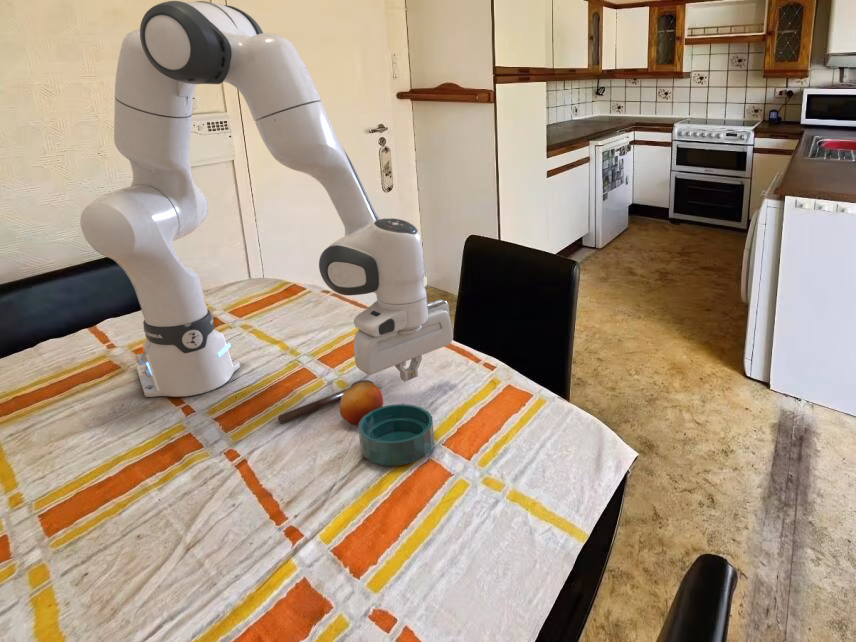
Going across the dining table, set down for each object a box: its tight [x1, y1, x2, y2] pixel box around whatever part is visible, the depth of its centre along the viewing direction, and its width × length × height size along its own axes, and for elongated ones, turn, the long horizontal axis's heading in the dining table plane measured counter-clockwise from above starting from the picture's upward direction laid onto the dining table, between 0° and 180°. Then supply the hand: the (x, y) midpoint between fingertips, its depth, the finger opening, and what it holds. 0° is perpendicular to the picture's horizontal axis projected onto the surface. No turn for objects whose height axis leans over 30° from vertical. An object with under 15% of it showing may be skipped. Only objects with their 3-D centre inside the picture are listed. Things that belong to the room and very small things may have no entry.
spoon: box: [277, 379, 374, 424], centre depth 119 cm, size 4×20×2 cm, turn 135°
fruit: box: [339, 382, 384, 426], centre depth 113 cm, size 8×8×8 cm
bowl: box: [357, 403, 435, 467], centre depth 105 cm, size 12×12×5 cm
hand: (409, 378), depth 119 cm, fingers closed
